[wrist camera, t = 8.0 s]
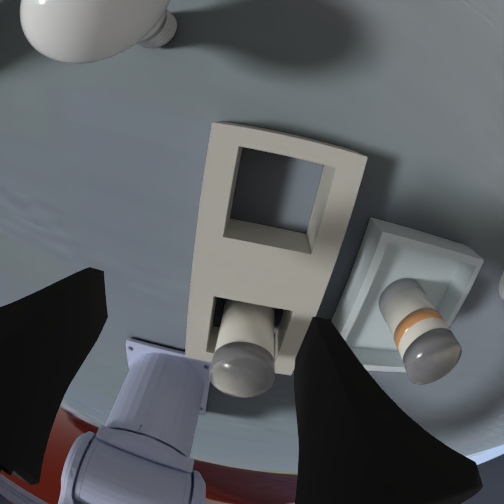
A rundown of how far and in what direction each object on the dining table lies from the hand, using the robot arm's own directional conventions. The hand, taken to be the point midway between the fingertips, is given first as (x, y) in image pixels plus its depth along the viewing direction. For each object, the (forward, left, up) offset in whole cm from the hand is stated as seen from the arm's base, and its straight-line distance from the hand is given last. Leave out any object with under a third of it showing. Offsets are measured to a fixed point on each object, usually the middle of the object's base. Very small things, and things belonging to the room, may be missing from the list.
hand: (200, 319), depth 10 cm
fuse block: (-2, -2, -10) cm, 11 cm away
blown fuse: (-4, -13, -10) cm, 17 cm away
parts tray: (-4, -13, -10) cm, 17 cm away
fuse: (-7, -2, -10) cm, 13 cm away
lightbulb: (+11, +7, -11) cm, 17 cm away
